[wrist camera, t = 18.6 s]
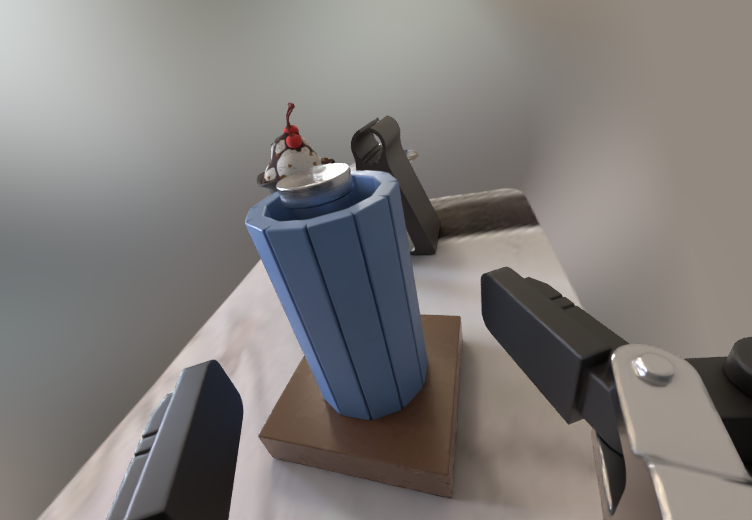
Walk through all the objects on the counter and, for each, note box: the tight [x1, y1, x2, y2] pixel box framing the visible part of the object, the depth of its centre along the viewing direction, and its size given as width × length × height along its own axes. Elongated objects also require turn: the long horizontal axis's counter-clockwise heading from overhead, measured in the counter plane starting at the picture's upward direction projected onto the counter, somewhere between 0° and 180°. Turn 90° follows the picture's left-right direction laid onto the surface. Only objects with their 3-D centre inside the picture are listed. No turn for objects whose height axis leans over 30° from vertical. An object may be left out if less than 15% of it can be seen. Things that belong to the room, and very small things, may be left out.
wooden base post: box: [258, 164, 462, 498], centre depth 15 cm, size 9×9×13 cm
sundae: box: [256, 103, 335, 195], centre depth 28 cm, size 7×7×15 cm
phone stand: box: [351, 116, 441, 255], centre depth 30 cm, size 9×6×12 cm, turn 74°
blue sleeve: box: [245, 170, 428, 420], centre depth 14 cm, size 6×6×10 cm
